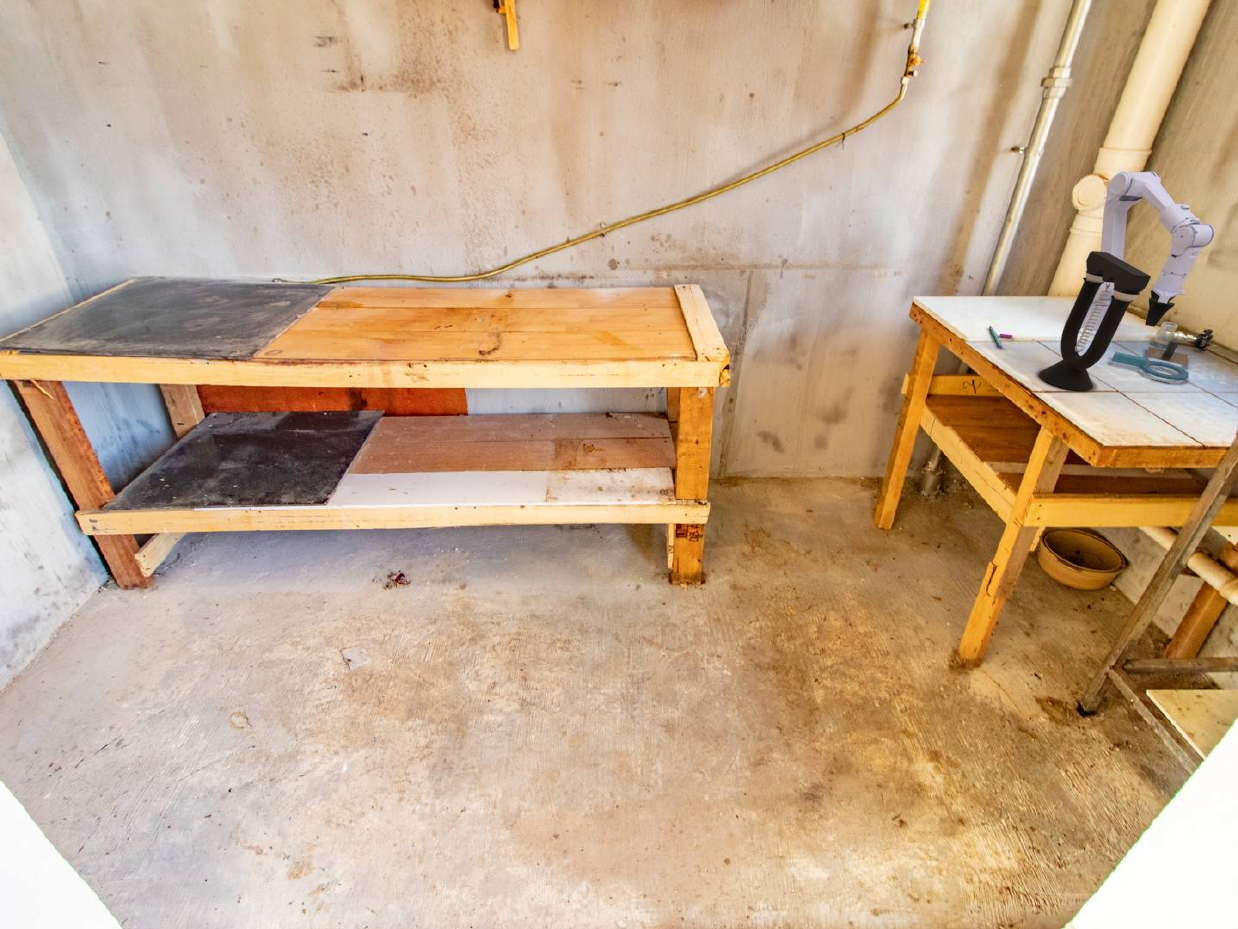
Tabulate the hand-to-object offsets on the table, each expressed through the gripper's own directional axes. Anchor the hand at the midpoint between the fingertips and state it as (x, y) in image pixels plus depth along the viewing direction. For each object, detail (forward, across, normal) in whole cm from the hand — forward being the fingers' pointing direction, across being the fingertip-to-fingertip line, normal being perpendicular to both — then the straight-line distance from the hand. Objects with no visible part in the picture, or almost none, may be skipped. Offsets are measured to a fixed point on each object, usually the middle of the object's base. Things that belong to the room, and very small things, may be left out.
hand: (1150, 321), depth 178 cm
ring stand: (+9, 0, -7) cm, 12 cm away
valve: (+10, +12, -9) cm, 18 cm away
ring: (+9, -13, -3) cm, 16 cm away
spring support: (+10, -32, +14) cm, 36 cm away
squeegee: (+9, -13, +32) cm, 35 cm away
